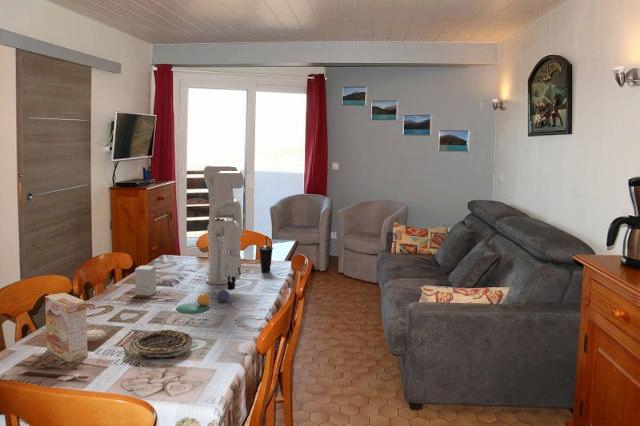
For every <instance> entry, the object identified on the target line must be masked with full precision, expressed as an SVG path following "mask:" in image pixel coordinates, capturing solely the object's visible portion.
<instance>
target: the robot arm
mask: <svg viewBox="0 0 640 426" xmlns="http://www.w3.org/2000/svg"><path fill="white" fill-rule="evenodd" d="M203 180H204V182H205V185H206V188H207V190H208V205H209V206H208V207H209V215H208V224H207V228H206V230H207V237H208V251H209V252H208V254H209V255H208V272H206V275H207V276H208V277H207V278H206V279H205V282H206V284H210V285H226V284H227V288H226V289H227V291H233V290H235V289H236V282H237V280H240V276H241V275H242V259H241V257H242V256H241V237H242V236H243V219H242V205H241V203H240V201H239V200H238V199H235V195H234V190H235V189H242V188H243V187H244V184H245V178H244V175H243V172H242V170H241V169H240V168H239V166H238V165H235V164H209V165H207V166H205V167H204V169H203ZM216 219H231V220H216Z"/></svg>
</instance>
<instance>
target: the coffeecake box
mask: <svg viewBox="0 0 640 426" xmlns="http://www.w3.org/2000/svg"><path fill="white" fill-rule="evenodd" d="M44 303H45V304H44V305H45V306H44V307H45V327H46V328H45V330H46V351H47V352H49V353H51V354H53V355H55V356H56V357H59V358H60V359H62V360H64V361H66V362H68V363H71V362H73V361H77V360H80V359H84V358H86V357H88V356H89V355H88V324H87V323H88V322H87V300H83V299H81V298H78V297H76V296H74V295H71V294H68V293H67V292H66V293H65V292H60V293H56V294H49V295H45V296H44Z"/></svg>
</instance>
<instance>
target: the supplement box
mask: <svg viewBox="0 0 640 426" xmlns="http://www.w3.org/2000/svg"><path fill="white" fill-rule="evenodd" d="M156 270H157V269H156V265H140V266H138V267H136V268H135V269H134V278H135V280H134V281H135V296H152V295H153V294H155V293H156V292H157V276H156V275H157V273H156Z"/></svg>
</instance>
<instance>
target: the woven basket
mask: <svg viewBox="0 0 640 426" xmlns="http://www.w3.org/2000/svg"><path fill="white" fill-rule="evenodd" d="M192 345H193V338H192V337H191V335H190V334H188V333H186V332H183V331H178V330H173V329H162V330H155V331H152V332H148V331H147V332H146V331H145V332H143V333H139V334H138V335H136V336H134V337H133V338H131V340H130V341H129V342H128V343H127V344H125V345H123V348H125V349H124V351H125V354H126V356H124V357H123V361H124V362H127V360H130V359H131V358H132V359H135V358H136V359H140V360H148V359H151V360H152V359H154V360H155V359H156V360H160V359H162V360H163V359H176V358H177V357H180V355H185V354H187V353H188V351H189V349H190V347H191V346H192Z"/></svg>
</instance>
